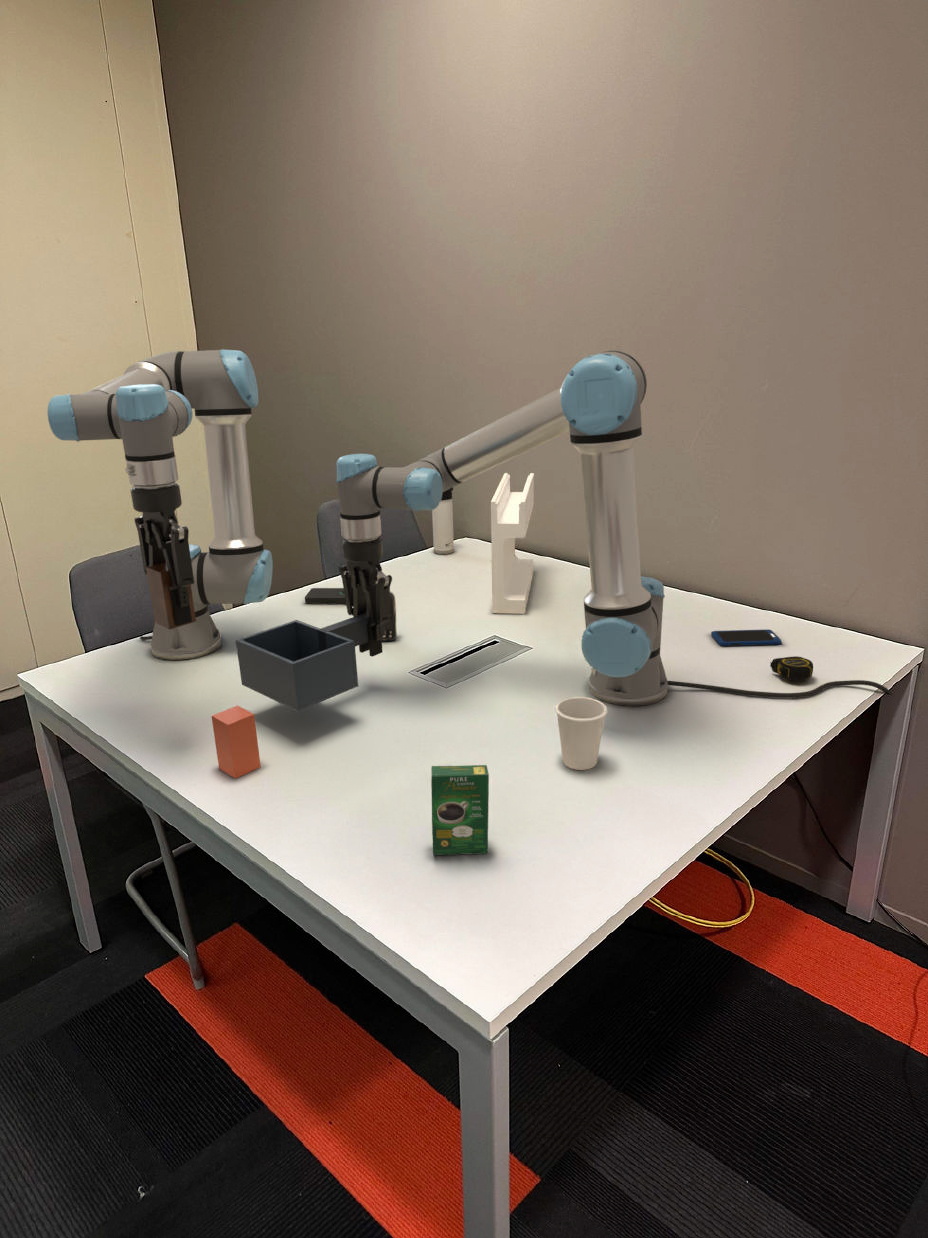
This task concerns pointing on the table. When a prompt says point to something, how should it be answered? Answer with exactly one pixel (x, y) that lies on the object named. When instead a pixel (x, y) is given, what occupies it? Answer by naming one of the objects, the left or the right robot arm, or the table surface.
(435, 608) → the table surface
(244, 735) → the terracotta block
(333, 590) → the smart home device
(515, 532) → the white stand
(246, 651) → the tote
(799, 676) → the tape measure
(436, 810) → the coffee box
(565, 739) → the dixie cup
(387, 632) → the battery charger
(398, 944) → the table surface
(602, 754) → the table surface
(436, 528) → the travel mug
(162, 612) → the walnut block
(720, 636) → the cell phone
